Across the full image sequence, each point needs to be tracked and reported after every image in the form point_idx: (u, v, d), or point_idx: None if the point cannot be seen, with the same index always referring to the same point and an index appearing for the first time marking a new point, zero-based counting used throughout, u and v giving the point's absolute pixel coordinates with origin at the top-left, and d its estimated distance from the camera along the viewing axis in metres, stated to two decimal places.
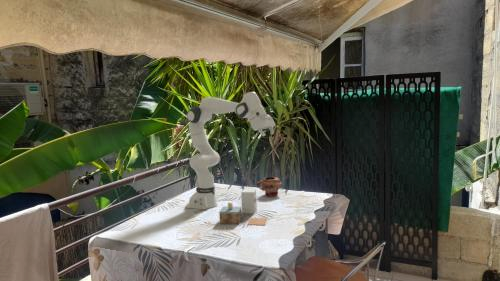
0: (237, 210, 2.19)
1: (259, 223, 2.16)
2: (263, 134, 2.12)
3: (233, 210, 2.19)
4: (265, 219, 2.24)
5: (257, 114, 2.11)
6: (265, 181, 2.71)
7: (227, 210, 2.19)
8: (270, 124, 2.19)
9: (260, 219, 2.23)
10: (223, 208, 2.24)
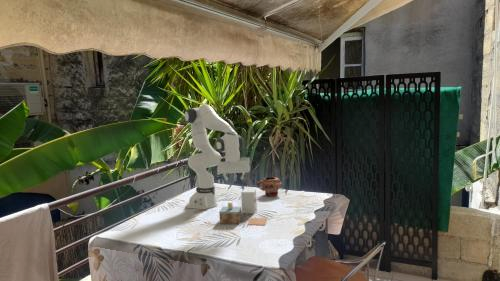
0: (237, 210, 2.19)
1: (259, 223, 2.16)
2: None
3: (233, 210, 2.19)
4: (265, 219, 2.24)
5: (222, 160, 2.14)
6: (265, 181, 2.71)
7: (227, 210, 2.19)
8: (240, 170, 2.16)
9: (260, 219, 2.23)
10: (223, 208, 2.24)
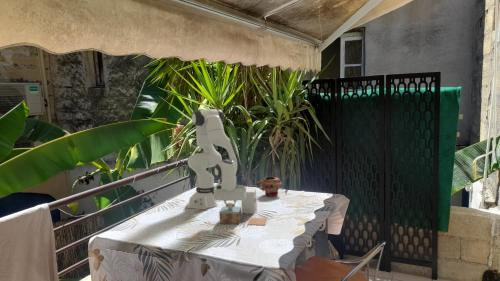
0: (237, 210, 2.19)
1: (259, 223, 2.16)
2: None
3: (233, 210, 2.19)
4: (265, 219, 2.24)
5: (218, 187, 2.18)
6: (265, 181, 2.71)
7: (227, 210, 2.19)
8: (236, 198, 2.18)
9: (260, 219, 2.23)
10: (223, 208, 2.24)
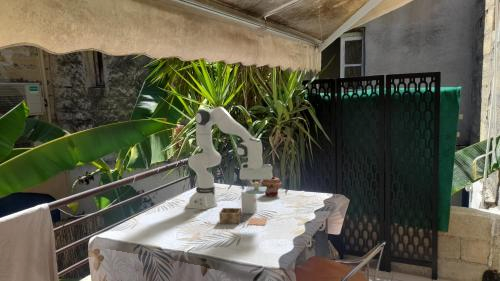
0: (263, 189, 2.14)
1: (259, 223, 2.16)
2: None
3: (259, 190, 2.15)
4: (265, 219, 2.24)
5: (244, 166, 2.13)
6: (265, 181, 2.71)
7: (253, 190, 2.15)
8: (262, 177, 2.14)
9: (260, 219, 2.23)
10: (249, 188, 2.19)
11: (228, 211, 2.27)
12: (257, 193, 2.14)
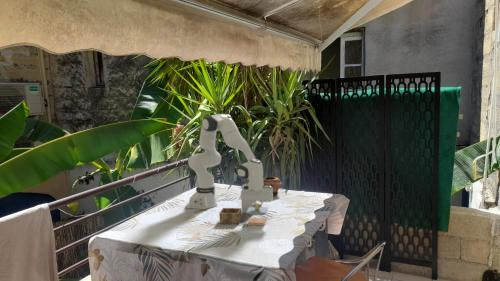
0: (264, 211, 2.16)
1: (259, 223, 2.16)
2: None
3: (260, 211, 2.16)
4: (265, 219, 2.24)
5: (245, 188, 2.15)
6: (265, 181, 2.71)
7: (254, 211, 2.17)
8: (263, 198, 2.16)
9: (260, 219, 2.23)
10: (249, 209, 2.21)
11: (228, 211, 2.27)
12: (258, 214, 2.15)
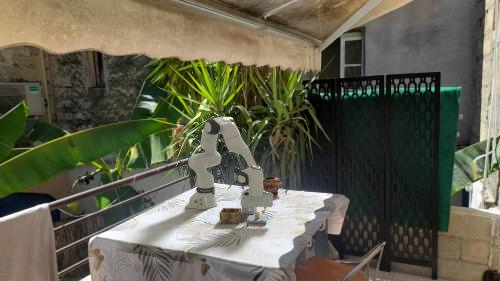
0: (264, 219, 2.17)
1: None
2: None
3: (260, 219, 2.17)
4: None
5: (245, 194, 2.16)
6: (265, 181, 2.71)
7: (254, 219, 2.17)
8: (263, 205, 2.16)
9: None
10: (250, 217, 2.22)
11: (228, 211, 2.27)
12: (258, 223, 2.16)
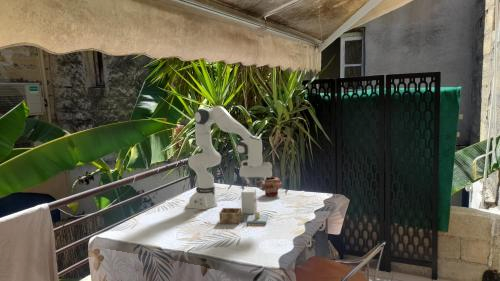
0: (264, 219, 2.17)
1: None
2: (247, 182, 2.20)
3: (260, 219, 2.17)
4: None
5: (244, 164, 2.16)
6: (265, 181, 2.71)
7: (254, 219, 2.17)
8: (262, 175, 2.16)
9: None
10: (250, 217, 2.22)
11: (228, 211, 2.27)
12: (258, 223, 2.16)
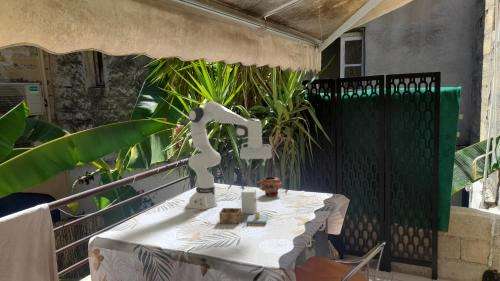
0: (264, 219, 2.17)
1: None
2: (247, 164, 2.25)
3: (260, 219, 2.17)
4: None
5: (244, 146, 2.21)
6: (265, 181, 2.71)
7: (254, 219, 2.17)
8: (262, 157, 2.21)
9: None
10: (250, 217, 2.22)
11: (228, 211, 2.27)
12: (258, 223, 2.16)
